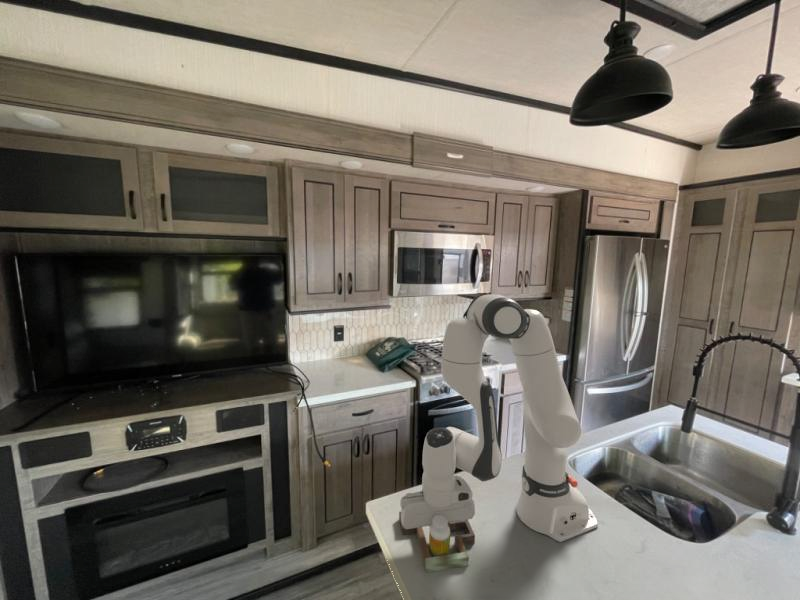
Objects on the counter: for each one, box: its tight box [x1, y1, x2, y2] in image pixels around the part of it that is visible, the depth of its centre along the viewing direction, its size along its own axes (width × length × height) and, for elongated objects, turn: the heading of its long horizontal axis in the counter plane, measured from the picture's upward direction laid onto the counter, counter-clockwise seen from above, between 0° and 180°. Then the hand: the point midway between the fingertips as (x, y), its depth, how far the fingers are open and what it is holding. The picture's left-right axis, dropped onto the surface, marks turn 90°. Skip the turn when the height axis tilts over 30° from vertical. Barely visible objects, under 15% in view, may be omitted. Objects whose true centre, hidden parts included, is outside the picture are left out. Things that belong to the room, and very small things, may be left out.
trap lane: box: [398, 511, 476, 573], centre depth 92 cm, size 19×20×2 cm
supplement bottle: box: [428, 515, 451, 557], centre depth 87 cm, size 5×5×10 cm
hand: (437, 534), depth 91 cm, fingers closed
